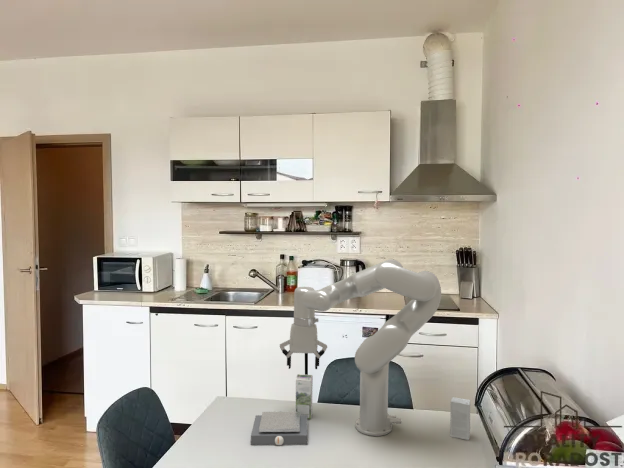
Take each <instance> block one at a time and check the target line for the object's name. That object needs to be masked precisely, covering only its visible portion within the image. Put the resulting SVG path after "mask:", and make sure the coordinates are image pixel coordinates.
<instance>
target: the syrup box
mask: <svg viewBox="0 0 624 468" xmlns="http://www.w3.org/2000/svg"><path fill="white" fill-rule="evenodd" d="M295 412H300V415H307V420H311V419H312V414H313V374H303V373H302V374H300V373H299V374H297V375H296V377H295Z"/></svg>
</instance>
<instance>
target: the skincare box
mask: <svg viewBox="0 0 624 468" xmlns="http://www.w3.org/2000/svg"><path fill="white" fill-rule="evenodd" d="M449 426H450V432H449V433H450V434H449V436H450V437H451V438H456V439H462V440H466V441H469V440H470V437H471V399H466V398H460V397H456V396H455V397H454V396H452V397H451V399H450V425H449Z"/></svg>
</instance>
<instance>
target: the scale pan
mask: <svg viewBox="0 0 624 468" xmlns="http://www.w3.org/2000/svg"><path fill="white" fill-rule="evenodd" d="M261 415H262V417H261V422H260V427H259V432H300V412H296V411H262V413H261Z"/></svg>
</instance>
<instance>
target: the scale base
mask: <svg viewBox="0 0 624 468" xmlns="http://www.w3.org/2000/svg"><path fill="white" fill-rule="evenodd" d="M261 417H262V414H260V415H259V414H258V415H257V414H256V415H255V417H254V420H253V421H254V422H253V426H252V430H251V433H250V434H251V435H250V445H251V446H265V445H266V446H267V445H268V446H270V445H271V446H272V445H274V446H283V445H284V446H286V445H289V446H291V445H295V446H297V445H300V446H301V445H305V446H306V445H308V419H307V415H300V432H259V427H260V422H261Z"/></svg>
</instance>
